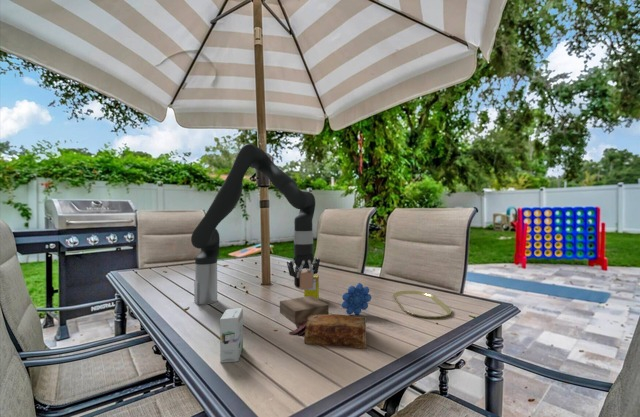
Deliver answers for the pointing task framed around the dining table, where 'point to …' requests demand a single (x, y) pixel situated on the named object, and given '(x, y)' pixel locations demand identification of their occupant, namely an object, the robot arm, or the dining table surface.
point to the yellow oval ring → (427, 296)
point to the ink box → (231, 335)
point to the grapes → (356, 299)
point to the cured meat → (333, 330)
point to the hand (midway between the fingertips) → (303, 285)
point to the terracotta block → (306, 280)
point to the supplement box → (315, 290)
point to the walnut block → (302, 308)
